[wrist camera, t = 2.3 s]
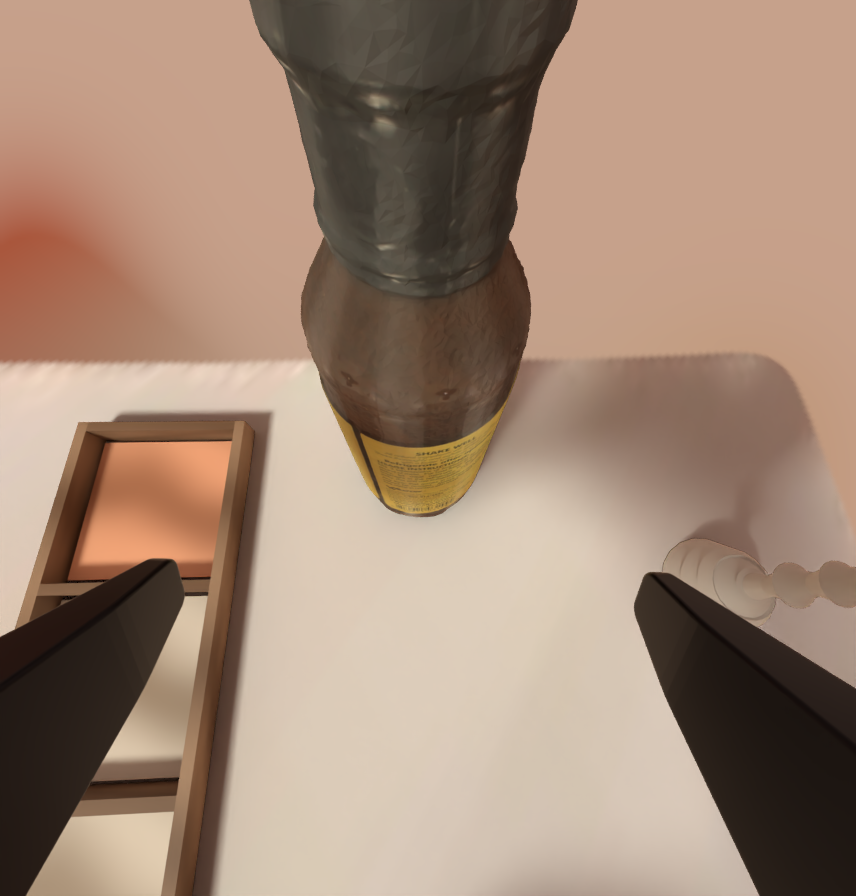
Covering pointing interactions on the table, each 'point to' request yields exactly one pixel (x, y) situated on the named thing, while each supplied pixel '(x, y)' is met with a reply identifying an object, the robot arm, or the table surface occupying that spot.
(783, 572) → the chalice
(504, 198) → the sauce bottle
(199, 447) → the brown compartment tray
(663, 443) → the table surface
